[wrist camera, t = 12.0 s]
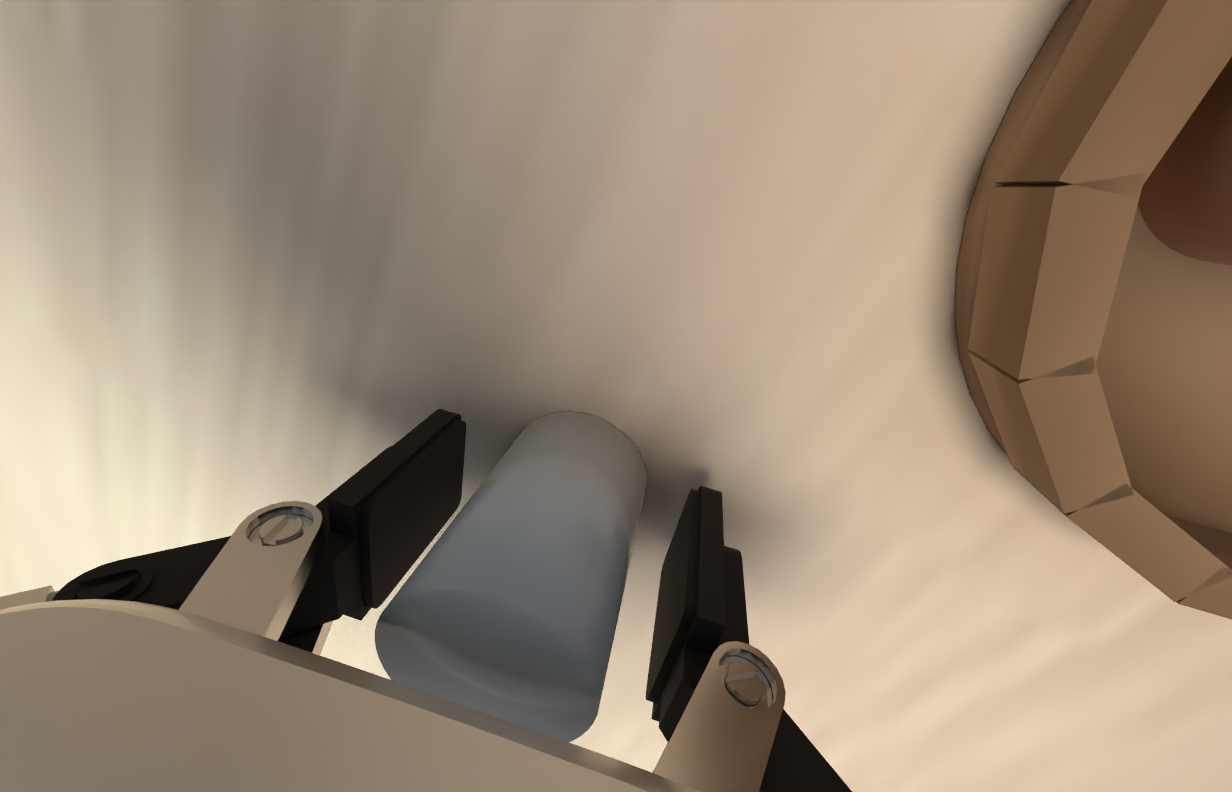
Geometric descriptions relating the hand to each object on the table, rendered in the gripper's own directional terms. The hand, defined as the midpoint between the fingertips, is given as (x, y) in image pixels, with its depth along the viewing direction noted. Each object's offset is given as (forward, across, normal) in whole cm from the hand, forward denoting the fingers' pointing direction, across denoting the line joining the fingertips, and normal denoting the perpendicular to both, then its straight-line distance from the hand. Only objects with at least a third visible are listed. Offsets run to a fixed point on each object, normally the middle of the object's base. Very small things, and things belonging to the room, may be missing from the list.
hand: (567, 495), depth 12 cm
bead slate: (+1, 0, 0) cm, 1 cm away
